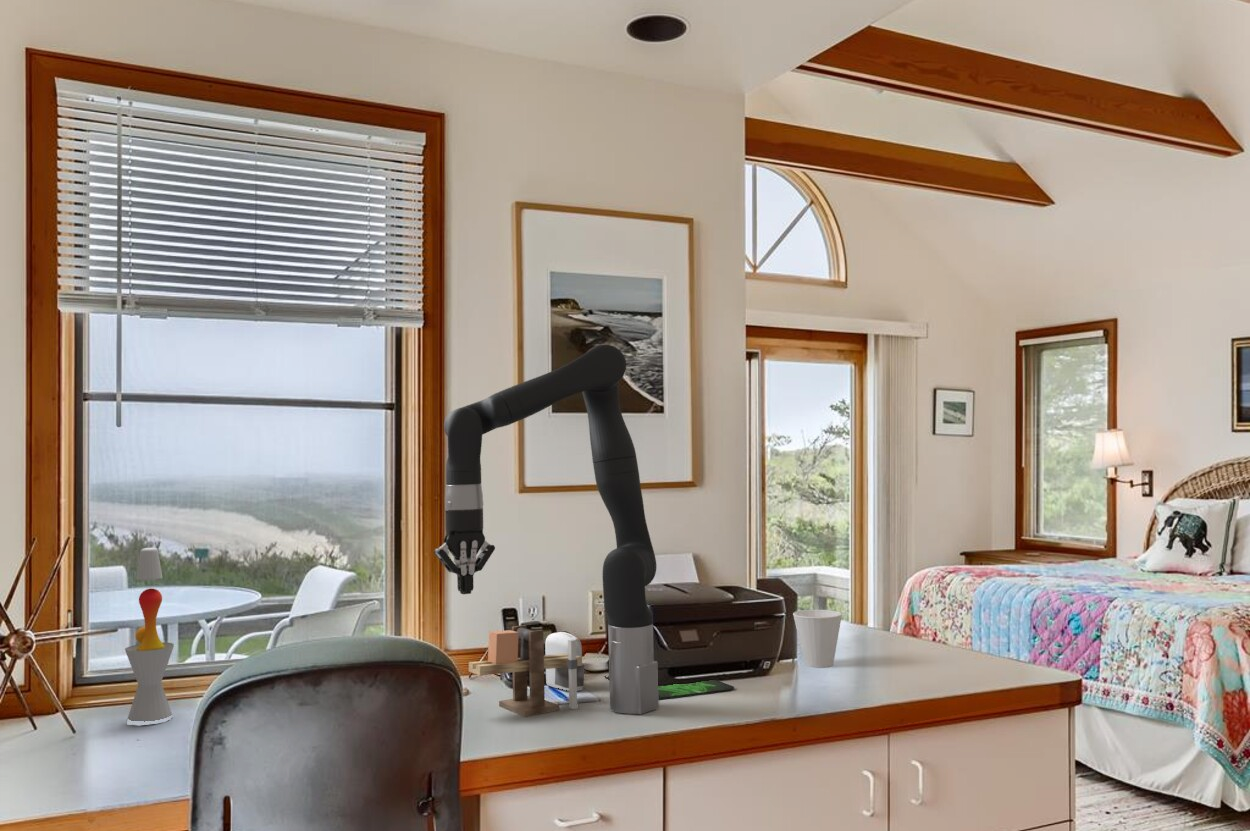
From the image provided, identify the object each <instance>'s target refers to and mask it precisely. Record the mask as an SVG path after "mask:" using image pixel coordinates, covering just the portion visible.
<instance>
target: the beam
mask: <svg viewBox="0 0 1250 831" xmlns="http://www.w3.org/2000/svg"><path fill="white" fill-rule="evenodd" d="M529 631H534V630H532V629H530V628H529V629H528V628H527V627H526V628H522V627H521V628H518V629H517V631H516V632H519V634H518V639H521V658H518V662H513V663H502V664H494V663H491V662H488V660H481V661H480V660H479V661H468V673H471V674H475V675H477V676H489V675H498V674H499V675H500V674H508V673H510V674H511V673H513V672H521V671H527V672H529ZM567 659H568V653H567V654H556V655H545V654H544V670H546V669H551V668H555V684H556V685H559V686H562V687H565V688H569V668H567ZM576 659H577V687H580V686H583V687H584V684H585V682H584V681H585V664H583V656H582V657H580V656H576Z"/></svg>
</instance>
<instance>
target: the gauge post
mask: <svg viewBox="0 0 1250 831" xmlns="http://www.w3.org/2000/svg"><path fill="white" fill-rule="evenodd" d="M567 668H569V691H568V708H569V709H570V708H571V710H575V709H574V708H577V709H578V691H577V659H576V640H574V639H571V640H568V659H567Z"/></svg>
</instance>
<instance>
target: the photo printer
mask: <svg viewBox="0 0 1250 831" xmlns="http://www.w3.org/2000/svg"><path fill="white" fill-rule="evenodd" d="M571 639H574V640H576V656H580V657H582V658H583V653H582V652H583V651H582V650H583V649H582V647H583V646H582V643H581V641H580V639H579V638H577V636H575V635H573V634H571V633H570V632H569V633H568V632H564V631H558V632H553V633H550V634H548V635H547V636H546V639H545V642H544V643H545V644H544V648H545V649H544V652H545V653H544V656H545V655H556V654H567V653H568V640H571ZM545 682H546V685H547V686H549V687H552V688H556V689H558V688H559V690H562V689H563V690H562V691H566V690H567V692H569V688H565V687H562V686H559V685H556V684H555V668H551V669H545ZM583 688H584V686H580V687H577V690H580V689H581V690H582V689H583ZM581 690H580V691H581Z"/></svg>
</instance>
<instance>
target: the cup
mask: <svg viewBox="0 0 1250 831" xmlns="http://www.w3.org/2000/svg"><path fill="white" fill-rule="evenodd" d="M792 615H793V620H794V623H795V627H796V632H797V636H798V641H799V645H800V650H801V653H802V654H801V655H802V658H803V662H804V666H806V667H809V668H815V669H817V668H819V669H821V668H823V669H825V668H830V667H833V666H834V662H835V656H836V651H837V645H838V639H839V633H840V628H841V622H842V618H843V613H842V612H840V611H837V610H833V609H832V610H830V609H801V610H796V611H794V612H793V613H792Z"/></svg>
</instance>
